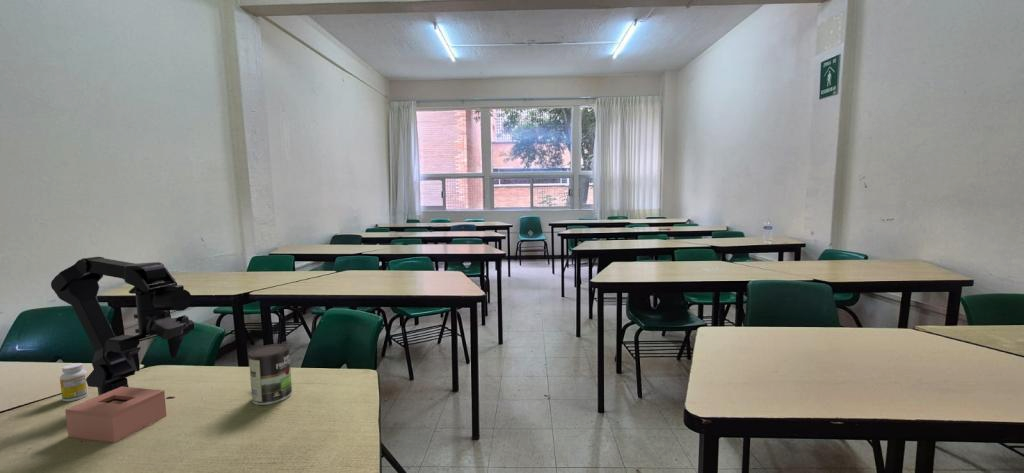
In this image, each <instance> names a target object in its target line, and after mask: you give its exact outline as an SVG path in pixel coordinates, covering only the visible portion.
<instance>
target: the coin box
mask: <svg viewBox="0 0 1024 473" xmlns="http://www.w3.org/2000/svg"><path fill="white" fill-rule="evenodd" d="M112 401H123V402H124V403H122V404H114V403H110V402H112ZM64 411H65V419H66V425H67V426H66V427H67V434H68V437H69V438H75V439H82V440H90V441H91V440H92V441H98V442H99V441H100V442H105V443H106V442H108V443H117V442H118V441H121V440H122V439H124V438H126V437H129V436H130V435H132V434H134V433H136V432H139V431H140V430H142V429H143V427H144V428H145V426H146V427H147V425H148V426H149V424H150V425H151V423H152V424H154V423H155V422H158V421H159V420H161V419H163V418H165V417H167V405H166V395H165V390H161V389H153V388H140V387H119V388H117V389H114V390H112V391H109V392H107V393H104V394H102V395H99V396H98V395H97V396H95V397H92V398H89V399H88V400H85V401H82V402H80V403H78V404H75V405H73V406H70V407H68V408H65V410H64ZM153 422H154V423H153Z"/></svg>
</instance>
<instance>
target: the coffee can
mask: <svg viewBox="0 0 1024 473" xmlns="http://www.w3.org/2000/svg"><path fill="white" fill-rule="evenodd" d="M290 349H291V347H290V345H289V344H286V343H273V344H266V345H262V346H258V347H256V348H253V349H251V350H250V351H249V352H248V353H247V355H248V361H249V375H250V376H249V378H250V390H251V393H250V394H251V403H252V404H254V405H257V406H265V405H268V406H269V405H273V404H277V403H281V402H283V401H285V400H286V399H288V398H289V397H291V396H292V394H293V388H292V385H293V384H292V370H291V369H292V368H291V354H290Z"/></svg>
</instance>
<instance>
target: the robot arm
mask: <svg viewBox="0 0 1024 473" xmlns="http://www.w3.org/2000/svg"><path fill="white" fill-rule="evenodd" d="M104 276H107V277H112V278H118V279H122V280H124V282H125V283H126V284H128V285H130V286H133V287H132V288H131V289H129V291H128V294H132V295H133V294H135V304H136V313H134V314H133V318H134V319H137V323H138V328H136V329H134V330H135V334H137V335H129V334H121V335H117V336H116V335H115V333H114V331H113V328H112V327H111V324H110V323H109V320H108V318H107V316H106V314H105V312H104V311H103V308H102V307H101V304H100V303H99V300H98V298H97V296H98V293H99V291H100V290H99V289H100V285H99V281H101V279H102V278H104ZM50 287H51V290H52V291H54V293H55V294H56V296H57V298H59V299H60V300H61V301H63V302H65V303H67V304H68V305H70V306H72V308H73V310H74V312H75V314H76V316H77V318H78V320H79V322H80V325H81V326H82V328H83V331H84V333H85V335H86V336H87V338H88V341H90V345H91V346H92V348H93V350H94V354H93V356H92V357H93V358H92V361H91V365H92V369H93V370H92V371H91V372H90V373H89V375H87V378H86V382H87V384H88V388H89V387H91V388H97V396H99V395H102V394H104V393H107V392H109V391H112V390H114V389H117V388H119V387H129V383H128V381H129V380H128V377H131V376H134V375H135V374H136V372H140V366H141V364H140V357H139V356H140V355H139V352H140V351H141V348H142V347H140V346H139V345H140V342H143V341H146V340H150V339H153V338H157V337H159V338H161V340H166V341H167V345H168V350H169V353H170V357H171V359H175V358H177V356H178V353H179V350H180V347H181V345H182V341H183V339H184V338H185V337H186V336H187V335H189V334H191V331H193V330H195V329H196V324H195V322H194V321H193V320H192V319H189V316H187V315H185V314H184V315H183V314H182V315H181V316H177V317H173V318H172V317H171V313H170V311H174V312H175V311H176V312H181V311H182V312H183V311H186V310H187V309H188V308H189V307H190V306H191V305H192V304H191V303H192V302H193V296H192V295H191V292H189V290H187V289H185V288H184V285H182V284H178V282H177V281H176V279H175V278H174V276H173V275H171V273H170V272H169V270H168V269H167V267H165V264H164V263H162V262H158V261H157V262H156V261H155V262H154V261H153V262H141V263H134V262H128V261H123V260H115V259H110V258H106V257H104V256H102V257H101V256H93V257H85V258H81V259H78V260H77V261H76V262H75V263H74V264H73V265H71V266H68V267H66V268H65V269H64V270H61V271H60V272H59V273H58V274H56V276H54V278H53V279H52V280H51V282H50Z"/></svg>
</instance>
